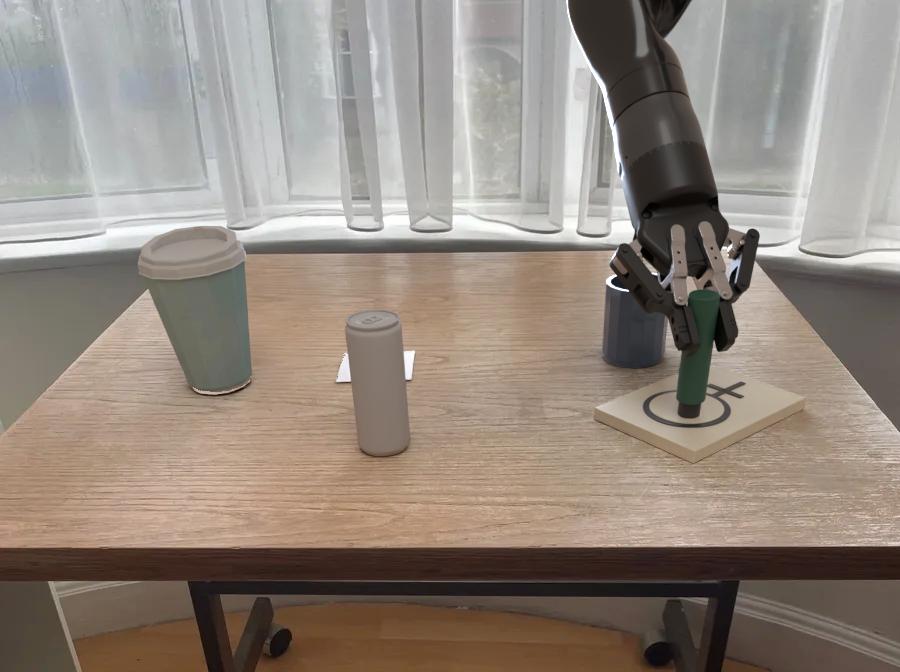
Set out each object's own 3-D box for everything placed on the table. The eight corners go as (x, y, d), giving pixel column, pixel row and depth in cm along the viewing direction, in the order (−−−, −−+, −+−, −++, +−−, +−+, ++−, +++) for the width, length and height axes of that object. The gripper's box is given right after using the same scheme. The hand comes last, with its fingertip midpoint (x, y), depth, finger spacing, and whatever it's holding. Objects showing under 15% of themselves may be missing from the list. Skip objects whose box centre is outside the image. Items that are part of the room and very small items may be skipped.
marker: (686, 405, 84) (702, 286, 77) (708, 414, 82) (726, 294, 75) (667, 413, 83) (682, 294, 76) (690, 423, 81) (706, 301, 74)
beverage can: (421, 445, 83) (412, 316, 75) (382, 464, 80) (369, 332, 73) (387, 429, 86) (375, 304, 78) (347, 447, 83) (332, 319, 76)
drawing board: (703, 372, 93) (705, 359, 92) (804, 409, 85) (807, 395, 84) (593, 419, 85) (594, 405, 85) (693, 463, 78) (695, 449, 77)
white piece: (411, 379, 94) (410, 372, 94) (335, 382, 95) (334, 374, 94) (415, 350, 101) (414, 343, 100) (344, 353, 101) (343, 346, 101)
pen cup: (630, 340, 101) (636, 267, 96) (676, 356, 97) (685, 281, 92) (588, 355, 98) (592, 281, 93) (634, 373, 94) (640, 296, 89)
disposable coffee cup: (258, 404, 91) (229, 252, 82) (154, 407, 92) (115, 256, 83) (277, 363, 100) (254, 221, 91) (182, 366, 100) (149, 225, 91)
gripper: (601, 145, 74) (649, 341, 72) (755, 130, 76) (807, 319, 74) (576, 199, 81) (618, 379, 79) (717, 184, 84) (763, 358, 81)
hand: (709, 349), depth 77 cm, fingers closed on marker, 2 cm apart
